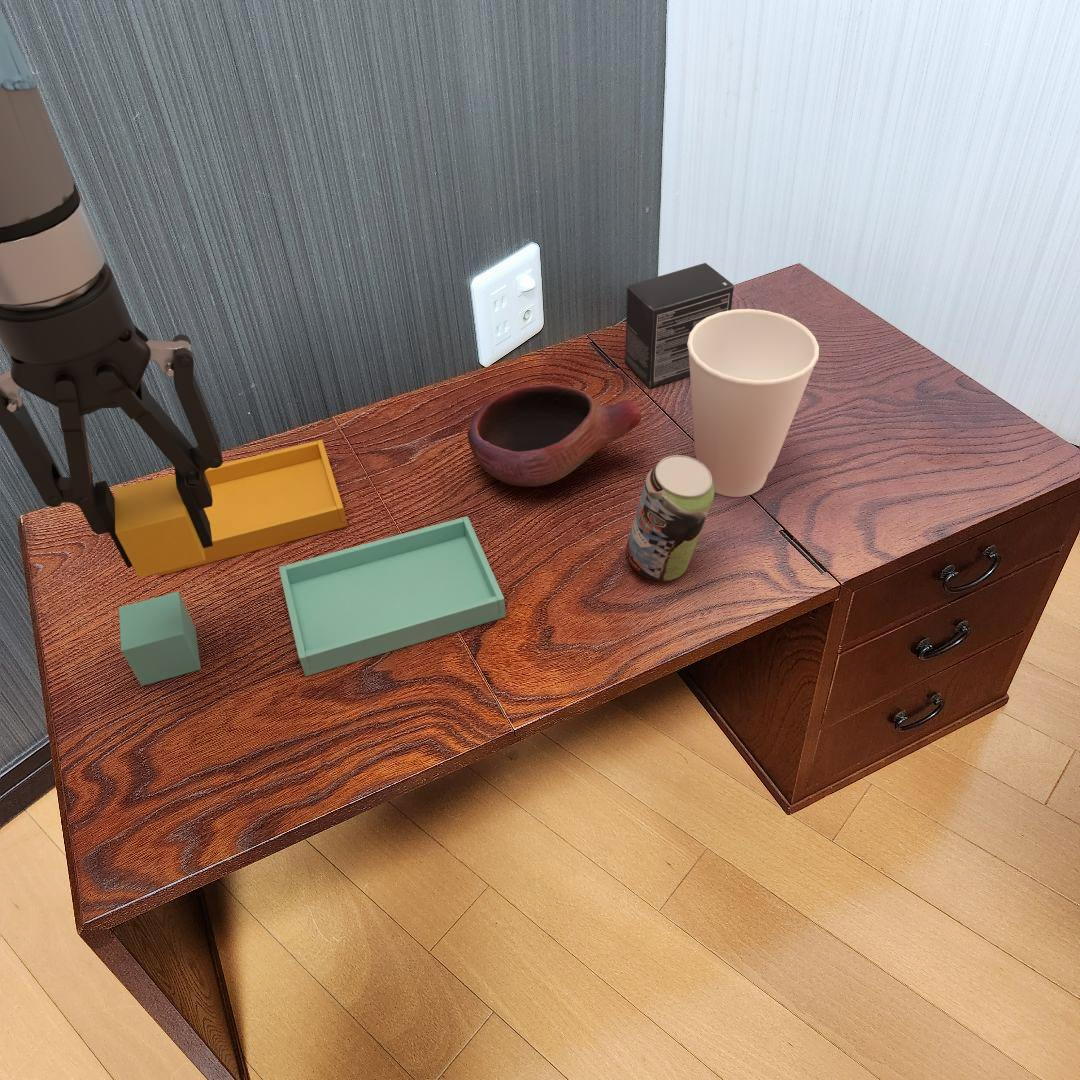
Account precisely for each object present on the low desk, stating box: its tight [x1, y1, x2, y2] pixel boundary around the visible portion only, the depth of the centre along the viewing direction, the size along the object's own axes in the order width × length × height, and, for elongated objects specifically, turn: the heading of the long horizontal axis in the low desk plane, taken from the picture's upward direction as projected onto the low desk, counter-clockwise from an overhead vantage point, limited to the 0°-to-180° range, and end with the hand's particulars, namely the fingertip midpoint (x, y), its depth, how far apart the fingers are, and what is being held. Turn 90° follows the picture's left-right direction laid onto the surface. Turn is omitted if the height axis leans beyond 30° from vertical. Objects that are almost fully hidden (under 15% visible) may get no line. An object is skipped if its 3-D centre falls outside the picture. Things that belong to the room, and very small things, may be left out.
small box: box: [624, 262, 735, 389], centre depth 106 cm, size 11×6×10 cm, turn 115°
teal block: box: [118, 591, 202, 687], centre depth 80 cm, size 5×5×5 cm
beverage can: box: [625, 454, 715, 582], centre depth 83 cm, size 6×7×12 cm
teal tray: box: [278, 516, 507, 677], centre depth 85 cm, size 18×11×3 cm, turn 110°
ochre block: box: [113, 473, 205, 579], centre depth 71 cm, size 5×5×5 cm
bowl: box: [466, 383, 642, 487], centre depth 96 cm, size 16×13×8 cm
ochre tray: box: [158, 439, 349, 576], centre depth 93 cm, size 18×11×3 cm, turn 110°
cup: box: [687, 308, 820, 498], centre depth 90 cm, size 12×12×16 cm
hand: (169, 544), depth 73 cm, fingers closed on ochre block, 5 cm apart
